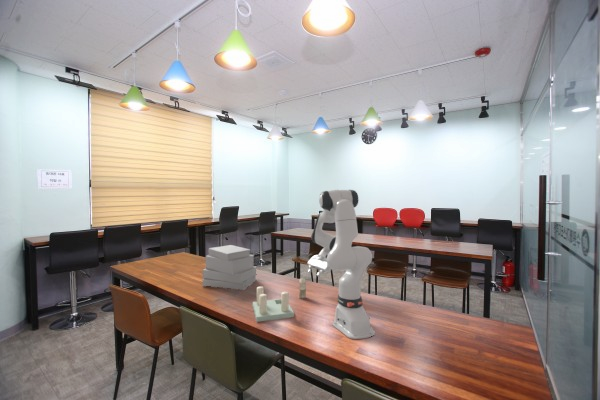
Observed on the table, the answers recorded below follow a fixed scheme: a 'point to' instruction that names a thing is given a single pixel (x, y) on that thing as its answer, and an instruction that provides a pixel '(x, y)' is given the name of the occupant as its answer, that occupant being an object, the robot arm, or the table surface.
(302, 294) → the loose leg
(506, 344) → the table surface
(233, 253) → the book stack
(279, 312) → the stool seat
